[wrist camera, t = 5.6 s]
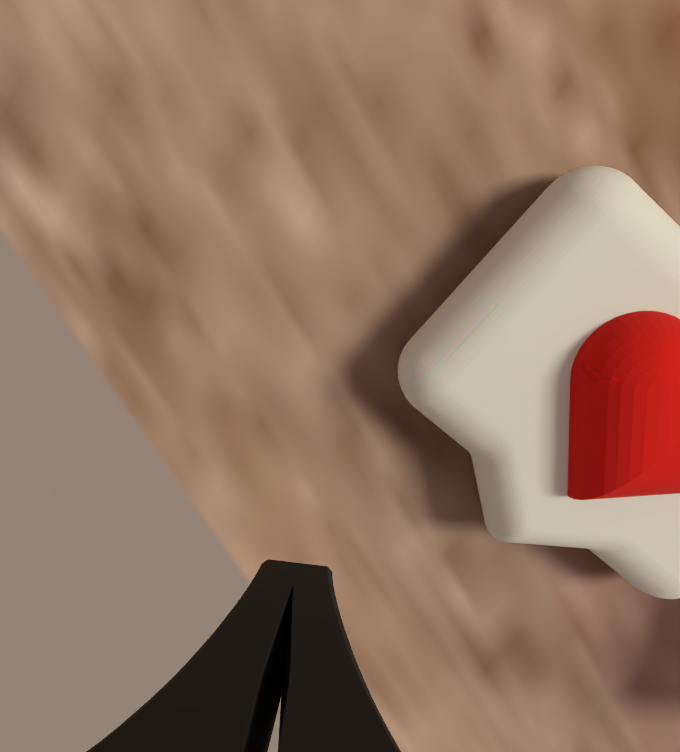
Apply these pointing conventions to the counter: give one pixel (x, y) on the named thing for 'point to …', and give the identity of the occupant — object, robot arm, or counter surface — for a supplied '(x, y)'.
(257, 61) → the counter surface
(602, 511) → the icon
